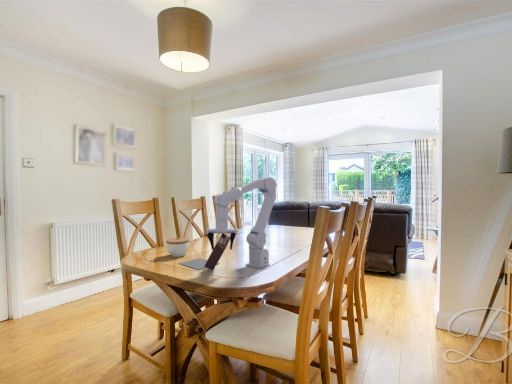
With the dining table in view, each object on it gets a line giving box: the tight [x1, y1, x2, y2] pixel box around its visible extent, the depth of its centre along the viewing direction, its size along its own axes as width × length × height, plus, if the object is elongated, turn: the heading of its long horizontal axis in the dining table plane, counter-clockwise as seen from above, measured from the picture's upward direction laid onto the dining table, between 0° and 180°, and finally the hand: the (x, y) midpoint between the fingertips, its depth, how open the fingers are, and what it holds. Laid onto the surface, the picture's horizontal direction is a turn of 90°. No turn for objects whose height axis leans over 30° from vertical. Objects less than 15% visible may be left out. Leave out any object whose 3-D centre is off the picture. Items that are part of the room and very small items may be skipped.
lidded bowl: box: [166, 236, 190, 258], centre depth 155 cm, size 13×13×11 cm
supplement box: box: [204, 234, 230, 273], centre depth 125 cm, size 9×5×16 cm
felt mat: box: [178, 257, 220, 271], centre depth 137 cm, size 17×13×1 cm
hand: (222, 249), depth 125 cm, fingers open, 7 cm apart
